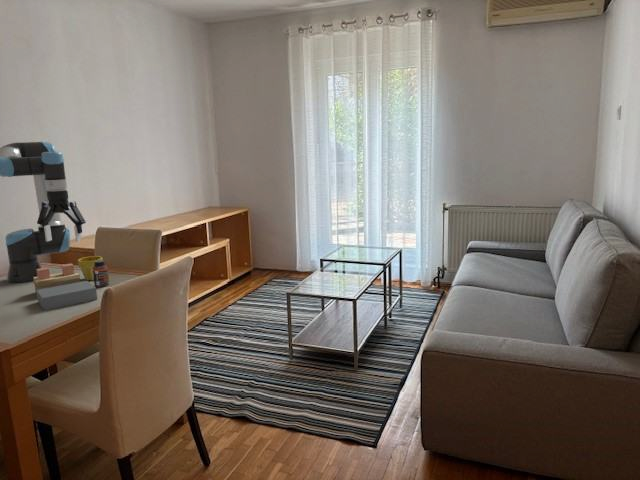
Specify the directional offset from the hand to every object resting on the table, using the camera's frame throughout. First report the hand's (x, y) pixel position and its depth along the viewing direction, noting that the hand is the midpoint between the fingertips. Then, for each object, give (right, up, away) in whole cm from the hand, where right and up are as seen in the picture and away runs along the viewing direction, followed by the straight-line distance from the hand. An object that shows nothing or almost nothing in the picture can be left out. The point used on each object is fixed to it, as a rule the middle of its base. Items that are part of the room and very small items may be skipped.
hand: (63, 241), depth 198 cm
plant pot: (-1, -18, +27) cm, 32 cm away
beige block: (-7, -22, +8) cm, 24 cm away
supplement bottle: (+9, -20, +15) cm, 27 cm away
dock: (+5, -24, -5) cm, 25 cm away
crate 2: (-3, -14, +10) cm, 18 cm away
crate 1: (-11, -16, +4) cm, 20 cm away
